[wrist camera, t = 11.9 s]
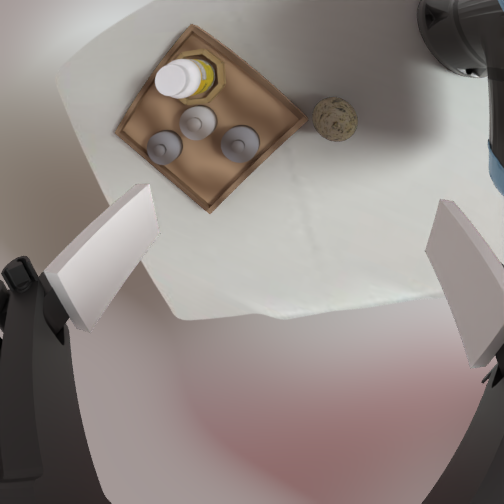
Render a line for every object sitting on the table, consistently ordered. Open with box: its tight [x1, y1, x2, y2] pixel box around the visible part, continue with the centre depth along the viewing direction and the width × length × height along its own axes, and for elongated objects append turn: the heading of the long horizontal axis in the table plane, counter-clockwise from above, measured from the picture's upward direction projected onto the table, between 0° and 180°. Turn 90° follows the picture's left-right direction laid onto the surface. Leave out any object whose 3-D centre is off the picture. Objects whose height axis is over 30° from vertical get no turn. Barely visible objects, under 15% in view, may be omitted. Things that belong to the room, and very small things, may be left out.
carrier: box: [115, 24, 308, 214], centre depth 38 cm, size 22×22×5 cm
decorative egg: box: [312, 97, 358, 141], centre depth 33 cm, size 6×6×10 cm
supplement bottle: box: [155, 59, 215, 99], centre depth 31 cm, size 5×5×10 cm
